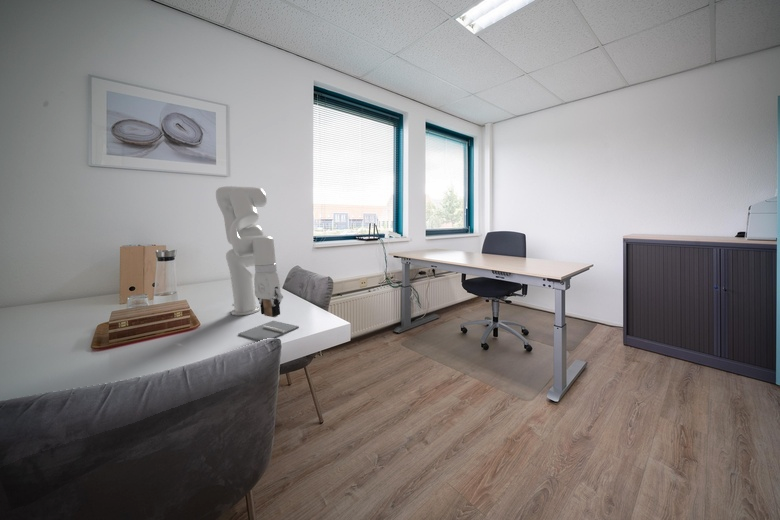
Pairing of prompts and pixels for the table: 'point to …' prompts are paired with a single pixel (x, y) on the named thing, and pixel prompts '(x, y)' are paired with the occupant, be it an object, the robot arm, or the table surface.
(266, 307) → the tile
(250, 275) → the robot arm
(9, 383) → the table surface
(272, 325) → the mat
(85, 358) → the table surface
